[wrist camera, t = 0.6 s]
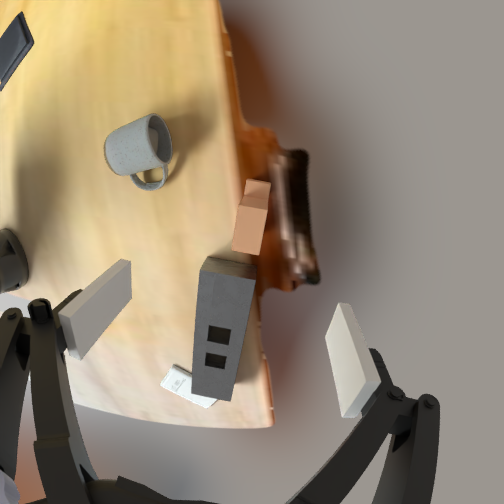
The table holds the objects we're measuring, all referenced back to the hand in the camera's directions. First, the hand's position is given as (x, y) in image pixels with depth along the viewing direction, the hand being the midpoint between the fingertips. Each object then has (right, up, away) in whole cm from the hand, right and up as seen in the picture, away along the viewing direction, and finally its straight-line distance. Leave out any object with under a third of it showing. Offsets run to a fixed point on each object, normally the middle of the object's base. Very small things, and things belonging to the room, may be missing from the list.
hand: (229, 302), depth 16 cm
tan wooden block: (+2, +9, +24) cm, 26 cm away
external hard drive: (-12, -27, +39) cm, 49 cm away
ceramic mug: (-14, +18, +22) cm, 31 cm away
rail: (-4, -11, +32) cm, 34 cm away
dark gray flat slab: (-56, +52, +12) cm, 78 cm away
